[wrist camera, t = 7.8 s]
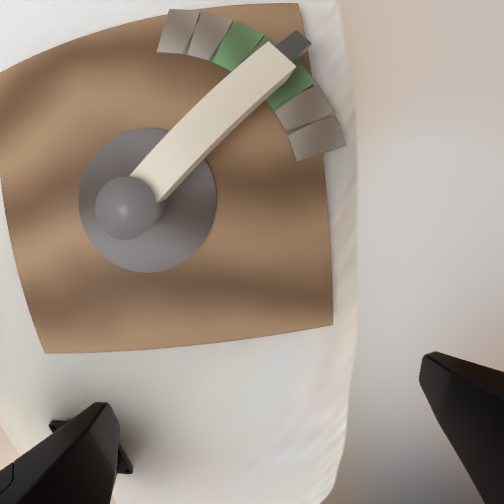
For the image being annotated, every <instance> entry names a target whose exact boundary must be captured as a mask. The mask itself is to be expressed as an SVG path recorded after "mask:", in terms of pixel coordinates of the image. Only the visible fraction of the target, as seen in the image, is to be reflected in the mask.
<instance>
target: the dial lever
mask: <svg viewBox="0 0 504 504" xmlns="http://www.w3.org/2000/svg"><path fill="white" fill-rule="evenodd" d="M311 44H312V43H311V42H310V41H308V40H307V39H306V38H305V37H304V36H303V35H302V34H301V33H300V32H298V31H297V30H295V31H294V32H293V33H291V34H290V35H289V36H288V37H286V38H285V39H284V40H282V41H281V42H280V43H279V44H277V45H276V46H275V47H274V46H273V45H272V44H271V43H270V42H269V41H268V42H267V43H266V44H264V45H263V46H262V47H261V48H259V49H258V50H257V51H256V52H254V53H253V54H252V55H251V56H250V57H248V58H247V59H246V60H245V61H244V62H242V63H241V64H240V65H239V66H238V67H237V68H235V69H234V70H233V71H232V72H231V73H230V74H229V75H227V76H226V77H225V78H224V79H223V80H222V81H221V82H220V83H219V84H217V85H216V86H215V87H214V88H213V89H212V90H211V91H210V92H209V93H208V94H207V95H206V96H205V97H204V98H202V99H201V100H200V101H199V102H198V103H197V104H196V105H195V106H194V107H193V108H192V109H191V110H190V111H189V112H188V113H187V114H186V115H185V116H184V117H183V118H182V119H181V120H180V121H179V122H178V123H177V124H176V125H175V126H174V127H173V128H172V129H171V130H170V131H169V132H168V133H167V134H166V136H165V137H164V138H163V139H162V140H161V141H160V142H159V143H158V144H157V145H156V146H155V147H154V148H153V150H152V151H151V152H150V153H149V154H148V155H147V156H146V157H145V158H144V160H143V161H142V162H141V163H140V164H139V165H138V166H137V168H136V169H135V170H134V171H133V172H132V173H131V174H130V176H128V177H118V178H115V179H113V180H111V181H109V182H108V183H106V184H105V185H104V186H103V187H102V189H101V190H100V192H99V194H98V196H97V199H96V204H95V213H96V218H97V221H98V223H99V225H100V227H101V228H102V229H103V230H104V232H106V233H107V234H108V235H109V236H111V237H113V238H115V239H118V240H131V239H134V238H137V237H139V236H140V235H142V234H143V233H144V232H145V231H147V230H148V229H149V228H151V227H152V226H153V225H155V224H156V223H157V222H159V221H160V219H161V218H162V217H163V215H164V213H165V211H166V207H167V198H168V197H169V196H170V194H171V193H172V192H173V191H174V190H175V189H176V188H177V187H178V186H179V185H180V184H181V183H182V181H183V180H184V179H185V178H186V177H187V176H188V175H189V174H190V173H191V172H192V171H193V170H194V169H195V168H196V167H197V166H198V165H199V164H200V163H201V162H202V160H203V159H204V158H205V157H206V156H207V155H208V154H209V153H210V152H211V151H212V150H213V149H214V148H215V147H216V146H217V145H218V144H219V143H220V142H221V141H222V140H223V139H224V138H225V137H226V136H227V135H228V134H229V133H230V132H232V131H233V130H234V129H235V128H236V127H237V126H238V125H239V124H240V123H241V122H242V121H243V120H244V119H245V118H246V117H247V116H248V115H249V114H250V113H251V112H253V111H254V110H255V109H256V108H257V107H258V106H259V105H260V104H261V103H262V102H263V101H264V100H266V99H267V98H268V97H269V96H270V95H271V94H272V93H273V92H274V91H276V90H277V89H278V88H279V87H280V86H281V85H282V84H284V83H285V82H286V81H287V79H288V78H289V76H290V75H291V74H292V72H293V71H294V69H295V68H296V66H295V64H296V63H297V62H298V61H299V60H300V59H301V58H302V56H303V55H304V54H305V52H306V51H307V49H308V48H309V46H310V45H311Z"/></svg>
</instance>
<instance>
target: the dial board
mask: <svg viewBox="0 0 504 504" xmlns="http://www.w3.org/2000/svg"><path fill="white" fill-rule="evenodd" d="M295 30H297V31H298V32H300V33H301V34H302V35H303V36H304V37H305V35H304V29H303V24H302V19H301V14H300V10H299V5H298V4H297V3H272V4H247V5H233V6H222V7H213V8H205V9H197V10H177V9H169V12H168V14H167V15H162V16H157V17H152V18H148V19H143V20H139V21H135V22H131V23H127V24H123V25H120V26H116V27H112V28H109V29H106V30H102V31H99V32H96V33H93V34H90V35H87V36H84V37H81V38H78V39H75V40H72V41H70V42H67V43H64V44H62V45H59V46H57V47H54V48H52V49H49V50H47V51H45V52H42V53H40V54H38V55H35V56H33V57H31V58H29V59H27V60H25V61H22V62H20V63H18V64H16V65H14V66H12V67H10V68H8V69H6V70H4V71H2V72H1V73H0V177H1V186H2V193H3V201H4V207H5V213H6V219H7V225H8V230H9V235H10V240H11V245H12V249H13V254H14V258H15V262H16V266H17V270H18V274H19V278H20V281H21V285H22V288H23V292H24V295H25V298H26V302H27V305H28V308H29V311H30V314H31V317H32V320H33V323H34V326H35V328H36V331H37V334H38V336H39V339H40V342H41V344H42V347H43V349H44V352H45V354H50V353H95V352H116V351H133V350H148V349H160V348H172V347H183V346H193V345H202V344H211V343H219V342H228V341H235V340H243V339H250V338H257V337H264V336H271V335H277V334H284V333H290V332H296V331H302V330H308V329H313V328H319V327H324V326H330V325H333V299H332V272H331V252H330V236H329V221H328V208H327V196H326V185H325V175H324V165H323V156H322V153H325V152H328V151H331V150H335V149H338V148H341V147H344V146H346V144H345V141H344V138H343V135H342V132H341V129H340V126H339V123H338V121H337V118H336V116H333V117H329V118H326V119H322V118H324V117H326V116H328V115H330V114H332V113H334V111H333V109H332V107H331V106H330V104H329V102H328V100H327V99H326V97H325V95H324V93H323V92H322V90H321V88H320V87H319V85H317V86H314V87H313V84H314V83H315V82H316V81H315V80H314V79H313V77H312V74H311V68H310V62H309V57H308V51H306V52H305V54H304V55H303V56H302V58H301V59H300V60H299V61H298V62H297V63H296V64H295V66H296V68H295V69H294V71H293V72H292V74H291V75H290V76H289V78H288V79H287V81H286V82H285V83H284V84H282V85H281V86H280V87H279V88H278V89H277V90H276V91H274V92H273V93H272V94H271V95H270V96H269V97H268V98H267V99H266V100H264V101H263V102H262V103H261V104H260V105H259V106H258V107H257V108H256V109H255V110H254V111H253V112H251V113H250V114H249V115H248V116H247V117H246V118H245V119H244V120H243V121H242V122H241V123H240V124H239V125H238V126H237V127H236V128H235V129H234V130H233V131H232V132H230V133H229V134H228V135H227V136H226V137H225V138H224V139H223V140H222V141H221V142H220V143H219V144H218V145H217V146H216V147H215V148H214V149H213V150H212V151H211V152H210V153H209V154H208V155H207V156H206V157H205V158H204V159H203V160H202V162H201V163H200V164H199V165H198V166H197V167H196V168H195V169H194V170H193V171H192V172H191V173H190V174H189V175H188V176H187V177H186V178H185V179H184V180H183V181H182V183H181V184H180V185H179V186H178V187H177V188H176V189H175V190H174V191H173V192H172V193H171V194H170V196H169V197H168V198H167V207H166V211H165V213H164V215H163V217H162V218H161V219H160V221H159V222H157V223H156V224H155V225H153V226H152V227H151V228H149V229H148V230H147V231H145V232H144V233H143V234H142V235H140V236H139V237H137V238H134V239H131V240H118V239H115V238H113V237H111V236H109V235H108V234H107V233H106V232H104V230H103V229H102V228H101V227H100V225H99V223H98V221H97V218H96V213H95V204H96V199H97V196H98V194H99V192H100V190H101V189H102V187H103V186H104V185H105V184H106V183H108V182H109V181H111V180H113V179H115V178H118V177H128V176H130V174H131V173H132V172H133V171H134V170H135V169H136V168H137V166H138V165H139V164H140V163H141V162H142V161H143V160H144V158H145V157H146V156H147V155H148V154H149V153H150V152H151V151H152V150H153V148H154V147H155V146H156V145H157V144H158V143H159V142H160V141H161V140H162V139H163V138H164V137H165V136H166V134H167V133H168V132H169V131H170V130H171V129H172V128H173V127H174V126H175V125H176V124H177V123H178V122H179V121H180V120H181V119H182V118H183V117H184V116H185V115H186V114H187V113H188V112H189V111H190V110H191V109H192V108H193V107H194V106H195V105H196V104H197V103H198V102H199V101H200V100H201V99H202V98H204V97H205V96H206V95H207V94H208V93H209V92H210V91H211V90H212V89H213V88H214V87H215V86H216V85H217V84H219V83H220V82H221V81H222V80H223V79H224V78H225V77H226V76H227V75H229V74H230V73H231V72H232V71H233V70H234V69H235V68H237V67H238V66H239V65H240V64H241V63H242V62H244V61H245V60H246V59H247V58H248V57H250V56H251V55H252V54H253V53H254V52H256V51H257V50H258V49H259V48H261V47H262V46H263V45H264V44H266V43H267V42H268V41H269V42H270V43H271V44H272V45H273V46H274V47H275V46H276V45H277V44H279V43H280V42H281V41H282V40H284V39H285V38H286V37H288V36H289V35H290V34H291V33H293V32H294V31H295ZM320 119H322V120H320ZM318 120H319V121H318Z"/></svg>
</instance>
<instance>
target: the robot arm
mask: <svg viewBox="0 0 504 504" xmlns="http://www.w3.org/2000/svg"><path fill="white" fill-rule="evenodd" d="M419 382H420V385H421V387H422V390H423V392H424V394H425V396H426V398H427V400H428V402H429V404H430V406H431V408H432V411H433V413H434V415H435V417H436V419H437V421H438V423H439V424H440V426H441V428H442V430H443V431H444V433H445V434H446V436H447V438H448V440H449V441H450V443H451V444H452V446H453V448H454V450H455V451H456V453H457V455H458V456H459V458H460V460H461V461H462V463H463V465H464V467H465V469H466V470H467V472H468V474H469V475H470V477H471V479H472V481H473V483H474V485H475V486H476V488H477V490H478V492H479V494H480V495H481V498H482V499H483V501H484V503H485V504H504V372H502V371H498V370H495V369H492V368H489V367H485V366H482V365H478V364H475V363H472V362H469V361H465V360H462V359H459V358H455V357H452V356H449V355H446V354H443V353H439V352H431V353H428V354H426V355H424V356H423V358H422V364H421V369H420V375H419ZM49 427H50V429H51V431H52V432H53V434H51V435H50V436H49V437H47V438H46V439H44V440H43V441H42V442H40V443H39V444H37V445H36V446H35V447H33V448H32V449H30V450H29V451H28V452H26V453H25V454H23V455H22V456H21V457H19V458H18V459H16V460H15V461H14V463H13V462H12V463H11V464H10V465H8V466H7V467H5V468H4V469H2V470H1V471H0V504H110V500H111V495H112V491H113V487H114V484H115V480H116V476H117V473H121V474H132V473H133V468H132V466H131V464H130V463H129V461H128V459H127V457H126V456H125V454H124V452H123V450H122V449H121V447H120V445H119V433H120V427H119V423H118V421H117V418H116V416H115V414H114V412H113V410H112V408H111V406H110V404H109V403H107V402H95V403H93V404H92V405H91V406H89V407H88V408H87V409H85V410H84V411H83V412H81V413H80V414H79V415H77V416H76V417H74V418H73V419H72V420H70V421H69V422H68V423H67V422H57V421H51V422H50V424H49Z"/></svg>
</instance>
